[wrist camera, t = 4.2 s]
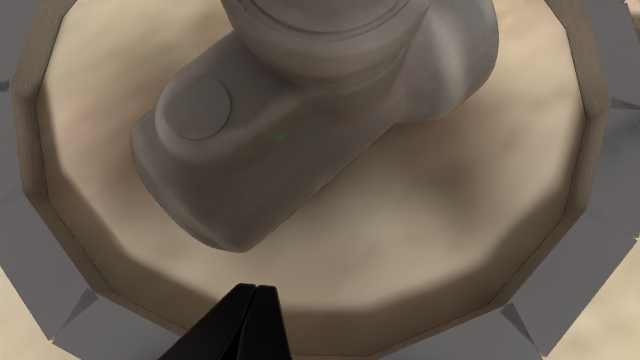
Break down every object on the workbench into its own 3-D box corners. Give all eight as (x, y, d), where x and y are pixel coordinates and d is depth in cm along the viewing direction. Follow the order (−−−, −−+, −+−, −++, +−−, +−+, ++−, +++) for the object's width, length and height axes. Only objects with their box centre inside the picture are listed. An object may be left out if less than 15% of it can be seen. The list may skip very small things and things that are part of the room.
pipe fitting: (348, 1, 19) (366, -277, 9) (459, 114, 18) (623, -66, 8) (159, 148, 18) (-61, 13, 8) (262, 281, 17) (154, 322, 7)
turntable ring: (745, 77, 18) (781, 57, 17) (284, 649, 11) (279, 697, 10) (323, -198, 25) (323, -228, 24) (-115, 53, 19) (-151, 32, 17)
